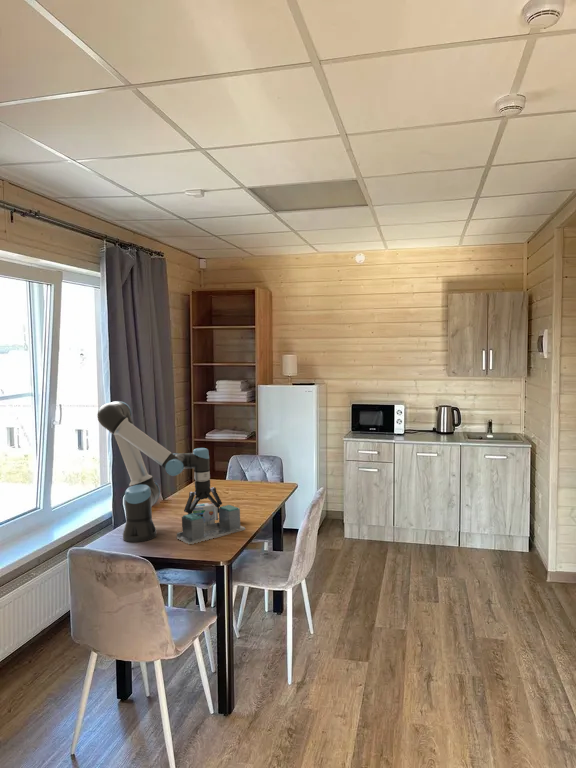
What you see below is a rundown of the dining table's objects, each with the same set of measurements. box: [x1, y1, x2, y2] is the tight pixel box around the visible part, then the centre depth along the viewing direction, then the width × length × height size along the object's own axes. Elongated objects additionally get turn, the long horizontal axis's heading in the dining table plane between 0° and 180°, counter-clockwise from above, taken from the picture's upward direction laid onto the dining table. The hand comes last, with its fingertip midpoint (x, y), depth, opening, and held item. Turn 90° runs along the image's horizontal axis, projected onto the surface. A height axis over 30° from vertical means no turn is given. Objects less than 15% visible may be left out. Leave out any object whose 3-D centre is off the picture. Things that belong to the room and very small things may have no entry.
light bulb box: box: [192, 502, 216, 526], centre depth 272 cm, size 11×7×11 cm, turn 101°
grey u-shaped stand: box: [176, 504, 246, 545], centre depth 260 cm, size 30×12×11 cm, turn 130°
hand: (204, 522), depth 272 cm, fingers open, 13 cm apart
